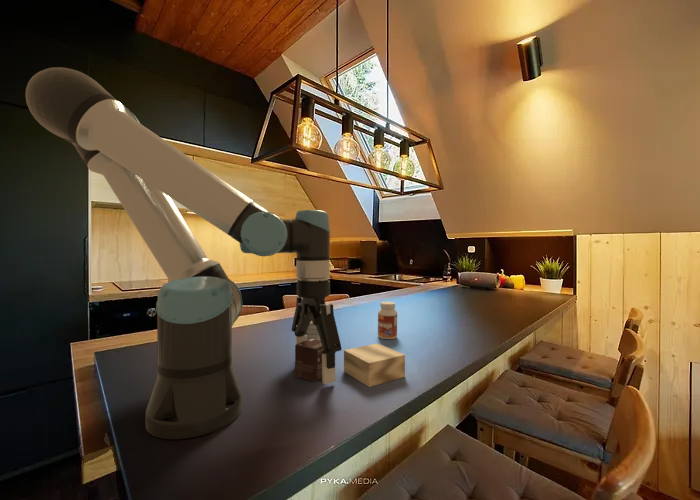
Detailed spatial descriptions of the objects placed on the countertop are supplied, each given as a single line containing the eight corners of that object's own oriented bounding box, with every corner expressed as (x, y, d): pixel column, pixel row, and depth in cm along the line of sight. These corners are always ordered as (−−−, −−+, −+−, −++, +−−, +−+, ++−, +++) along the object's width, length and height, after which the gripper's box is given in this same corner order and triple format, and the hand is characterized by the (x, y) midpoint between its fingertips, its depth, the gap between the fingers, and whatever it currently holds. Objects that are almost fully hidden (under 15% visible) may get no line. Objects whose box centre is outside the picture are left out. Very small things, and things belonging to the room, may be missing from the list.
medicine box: (318, 356, 88) (318, 323, 87) (302, 355, 88) (302, 323, 88) (326, 347, 95) (326, 317, 95) (311, 346, 96) (311, 316, 96)
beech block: (368, 387, 69) (369, 363, 69) (343, 371, 77) (343, 350, 77) (404, 376, 74) (405, 354, 74) (377, 363, 82) (377, 343, 82)
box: (316, 382, 71) (316, 349, 71) (294, 377, 74) (294, 344, 74) (331, 373, 76) (331, 341, 76) (310, 368, 79) (310, 338, 79)
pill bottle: (374, 338, 105) (374, 303, 104) (382, 333, 110) (382, 300, 110) (393, 340, 102) (393, 305, 102) (399, 336, 107) (399, 302, 107)
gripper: (357, 283, 66) (358, 387, 67) (305, 273, 87) (305, 353, 87) (324, 285, 62) (325, 397, 62) (278, 275, 83) (278, 358, 83)
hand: (314, 371), depth 75 cm, fingers open, 13 cm apart
